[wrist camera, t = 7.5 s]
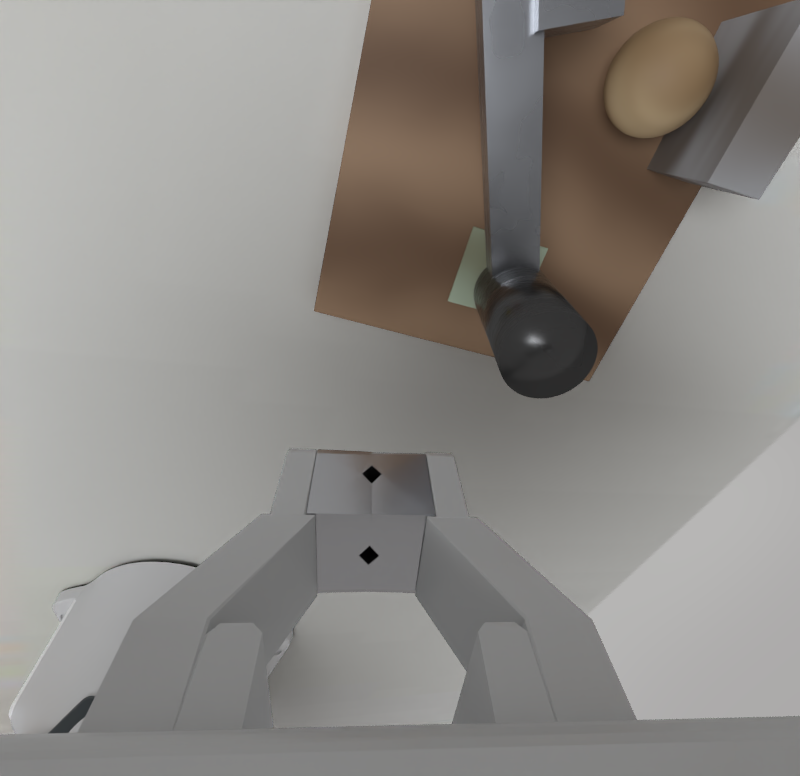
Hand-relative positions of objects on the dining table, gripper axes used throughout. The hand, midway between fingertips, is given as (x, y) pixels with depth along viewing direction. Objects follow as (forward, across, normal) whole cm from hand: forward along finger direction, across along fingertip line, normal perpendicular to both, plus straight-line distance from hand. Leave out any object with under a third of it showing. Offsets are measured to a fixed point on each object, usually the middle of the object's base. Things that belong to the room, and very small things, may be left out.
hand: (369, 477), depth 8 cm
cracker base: (+15, -6, -6) cm, 17 cm away
